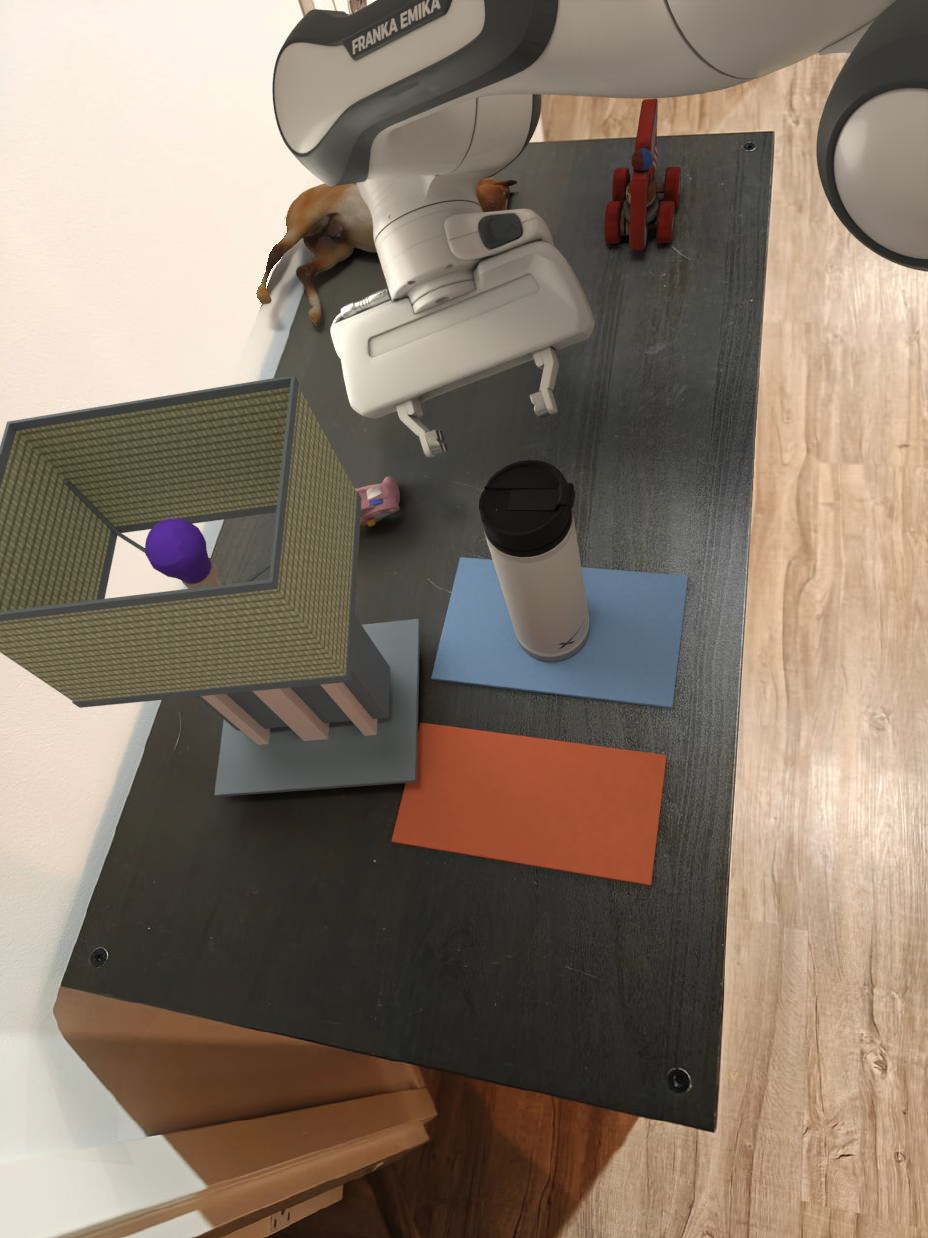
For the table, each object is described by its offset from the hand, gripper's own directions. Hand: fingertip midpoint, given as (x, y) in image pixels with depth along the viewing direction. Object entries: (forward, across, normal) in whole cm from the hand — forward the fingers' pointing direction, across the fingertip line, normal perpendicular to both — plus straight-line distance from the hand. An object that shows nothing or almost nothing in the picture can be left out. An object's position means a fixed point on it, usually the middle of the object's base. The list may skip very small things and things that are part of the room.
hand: (491, 435), depth 74 cm
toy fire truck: (-21, +15, +33) cm, 42 cm away
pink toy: (+2, -17, +10) cm, 20 cm away
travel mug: (+16, -1, +5) cm, 17 cm away
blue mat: (+16, 0, +5) cm, 17 cm away
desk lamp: (+18, -20, -1) cm, 27 cm away
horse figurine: (-19, -16, +22) cm, 33 cm away
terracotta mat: (+28, -5, -3) cm, 29 cm away
